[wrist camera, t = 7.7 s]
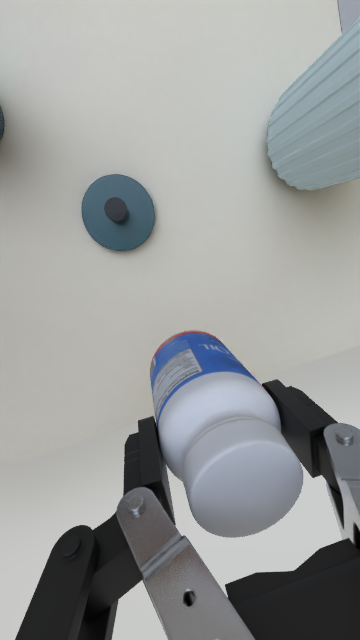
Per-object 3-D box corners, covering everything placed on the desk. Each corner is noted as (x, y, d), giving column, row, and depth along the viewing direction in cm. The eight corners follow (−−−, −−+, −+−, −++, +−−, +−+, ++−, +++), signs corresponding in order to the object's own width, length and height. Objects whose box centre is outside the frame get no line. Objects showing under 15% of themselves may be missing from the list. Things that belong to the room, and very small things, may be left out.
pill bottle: (242, 362, 19) (352, 479, 9) (188, 414, 19) (243, 576, 10) (189, 310, 17) (262, 392, 8) (131, 369, 17) (133, 514, 8)
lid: (97, 257, 33) (88, 261, 27) (73, 185, 31) (58, 172, 25) (161, 241, 34) (166, 241, 28) (143, 169, 31) (145, 153, 25)
